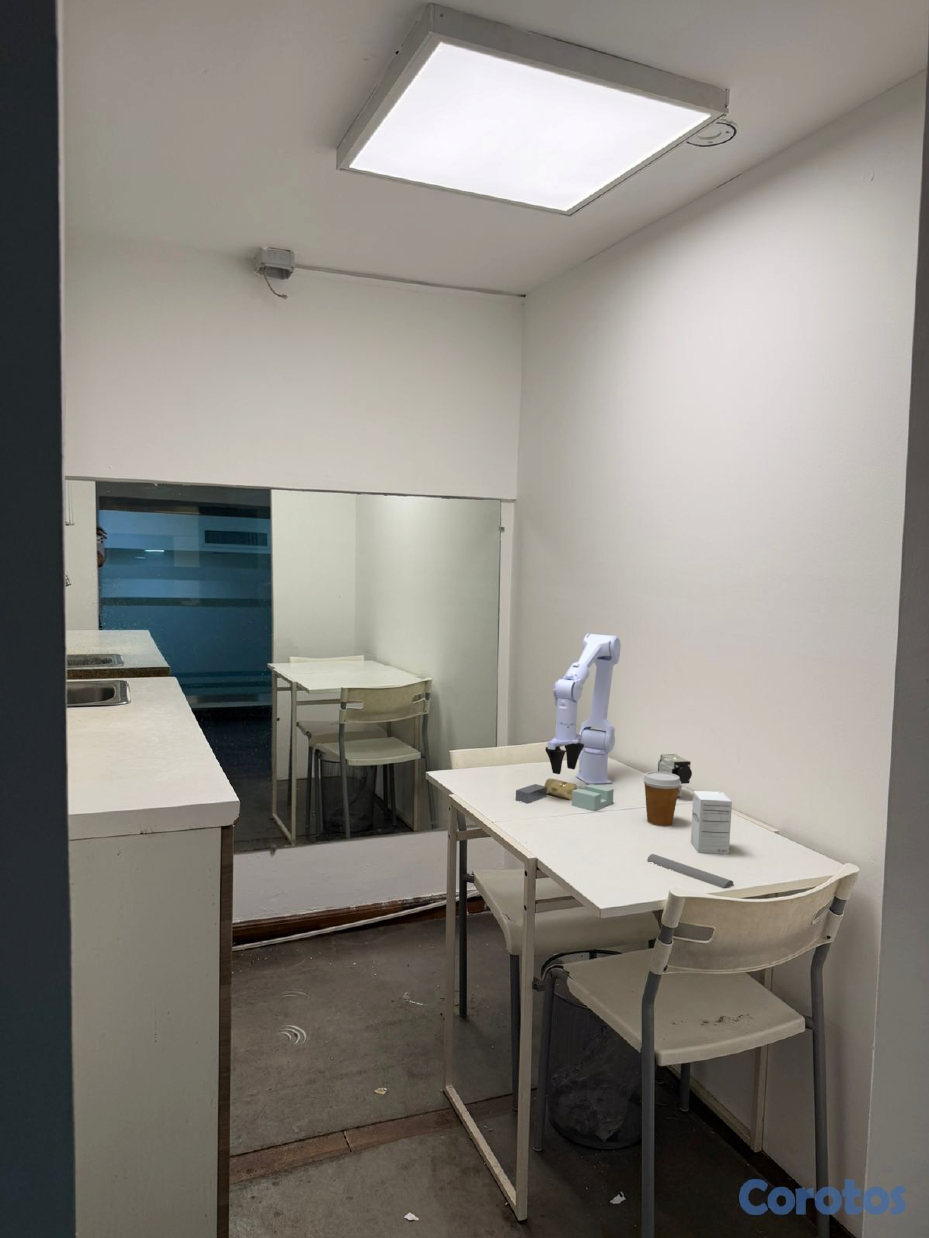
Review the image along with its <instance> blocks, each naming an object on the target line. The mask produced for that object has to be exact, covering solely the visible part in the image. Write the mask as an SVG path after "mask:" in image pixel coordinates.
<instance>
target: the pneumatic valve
mask: <svg viewBox="0 0 929 1238" xmlns="http://www.w3.org/2000/svg"><path fill="white" fill-rule="evenodd" d="M657 772H667V773H672V774H675V775H677V776H679V778H680V781H681V784H680V787H679V790H678V795H677V798H681V797H682V793H683V791H682V788H683V786H682V784H683V785H687V784H690V783H691V782H690V780H691V778H692V775H693V770H692V769H691V761H690V760H689V759H686V758H683V757H681V756H680V755H678V754H677V753H673V754H660V758H659V760H658V762H657ZM678 796H679V797H678Z"/></svg>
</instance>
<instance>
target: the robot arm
mask: <svg viewBox="0 0 929 1238" xmlns="http://www.w3.org/2000/svg"><path fill="white" fill-rule="evenodd" d="M582 649H583V650H582V652H581V655H580V656H579V659H578V661H576V662H573V663H572V664H571V665H570V666H569V668H568V669H567V671H566V672H565V674H564V675H563V677H562V678H560V679H558V680H556V681H555V682H554V685H553V690H552V696H553V698H554V699H553V700H554V706H555V710H556V711H555V728H554V729H555V730H554V737H553V738H552V739H551V740H549V741H547V746H546V747H545V752H546V754H547V756H548V758H549V762H550V767H551V771H552V774H556V775H561V773H562V768H563V767H562V766H563V762H564V761H563V760H564V757H565V756H566V767H567V769H569V770H575V769H576V767H577V763H578V774H575V777H576V778H578V779H580V780H581V781H582V782H584V783H586V785H590V784H594V785H600V784H601V785H603V784H613V781H612V780H610V779H608V765H609V764H608V761H609V760H608V759H609V753H610V752H612V750H613V749H614V747H615V743H616V736H615V730H616V729H615V727H614V725H613V724H612V723H610V721H609V720H608V718H607V717H608V712H609V711H608V710H609V703H610V695H611V689H612V688H611V687H612V679H613V670H614V666H615V665H618V664H619V661H620V654H621V640H620V638H619V636H618V635H616V634H615V635H608V634H597V633H596V634H594V633H590V632H588V633H587V634H585V636H584V638H583V641H582ZM593 664H595V666H596V669H595V676H594V685H593V693H592V698H591V699H592V701H591V708H590V709H591V710H590V714H589V715H590V716H589V718H587V719H586V720H584V721H583V722H582V723H581V726H580V730H579V732H578V734H577V718H578V717H577V716H578V702H579V701H580V699H581V696H582V692H583V690H584V687H583V686H584V684H585V683H586V681H587V679H588V678H589V676H590V668H591V666H593ZM595 728H597V729H595ZM561 747H564V749H562V748H561Z"/></svg>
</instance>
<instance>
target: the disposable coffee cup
mask: <svg viewBox="0 0 929 1238" xmlns="http://www.w3.org/2000/svg"><path fill="white" fill-rule="evenodd" d="M642 781H643V783H644V793H645V795H644V796H645V809H646V821H647V822H648V823H649V824H651V825H655V826H660V825H661V826H662V827H663V826H671V825H673V821H674V816H675V810H676V807H677V806H676V804H677V800H678V797H677V795H678V790H679V787H680V785H682V784H681V781H680V778H679V776H677V775H675V774H672V773H667V772H658V771H649V772H646V773H645V774H644V777H643V778H642Z"/></svg>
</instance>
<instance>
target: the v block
mask: <svg viewBox="0 0 929 1238" xmlns="http://www.w3.org/2000/svg"><path fill="white" fill-rule="evenodd" d="M612 803H613V804H614V788H611V787H606V786H603V785H599V784H586V785H585V787H584V789H582V788H577V789H576V790H573V791H572V800H571V806H572V807H577V808H581V809H584V810H589V811H593V812H596V811H598V810H601V809H602V808H605V807H607V805H608V806H610V805H612ZM609 804H610V805H609Z"/></svg>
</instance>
